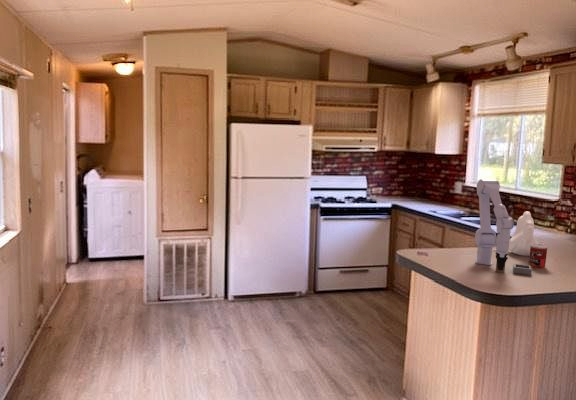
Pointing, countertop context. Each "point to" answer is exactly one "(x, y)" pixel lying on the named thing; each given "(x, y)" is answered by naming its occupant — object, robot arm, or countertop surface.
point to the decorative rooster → (523, 235)
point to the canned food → (537, 256)
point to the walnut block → (500, 270)
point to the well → (522, 269)
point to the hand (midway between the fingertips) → (500, 268)
